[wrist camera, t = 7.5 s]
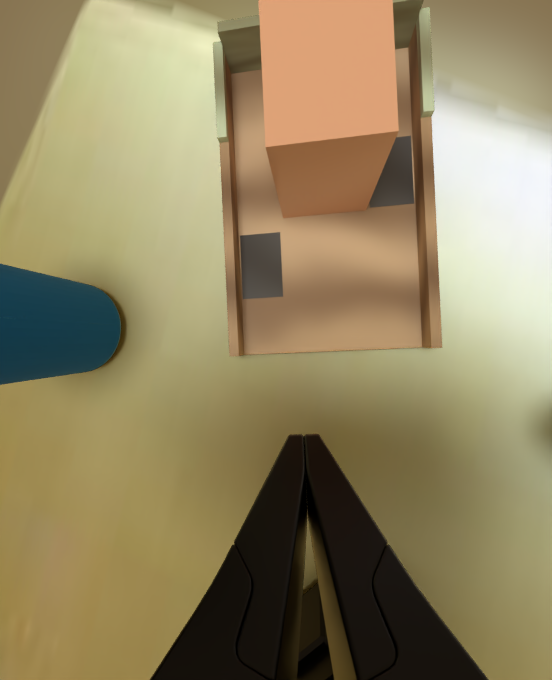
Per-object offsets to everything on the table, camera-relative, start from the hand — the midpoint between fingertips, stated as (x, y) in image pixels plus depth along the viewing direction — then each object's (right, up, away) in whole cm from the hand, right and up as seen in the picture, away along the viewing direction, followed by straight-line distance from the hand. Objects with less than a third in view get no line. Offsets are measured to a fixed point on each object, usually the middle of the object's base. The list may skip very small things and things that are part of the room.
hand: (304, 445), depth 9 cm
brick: (+2, +16, +12) cm, 21 cm away
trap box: (+2, +12, +13) cm, 18 cm away
